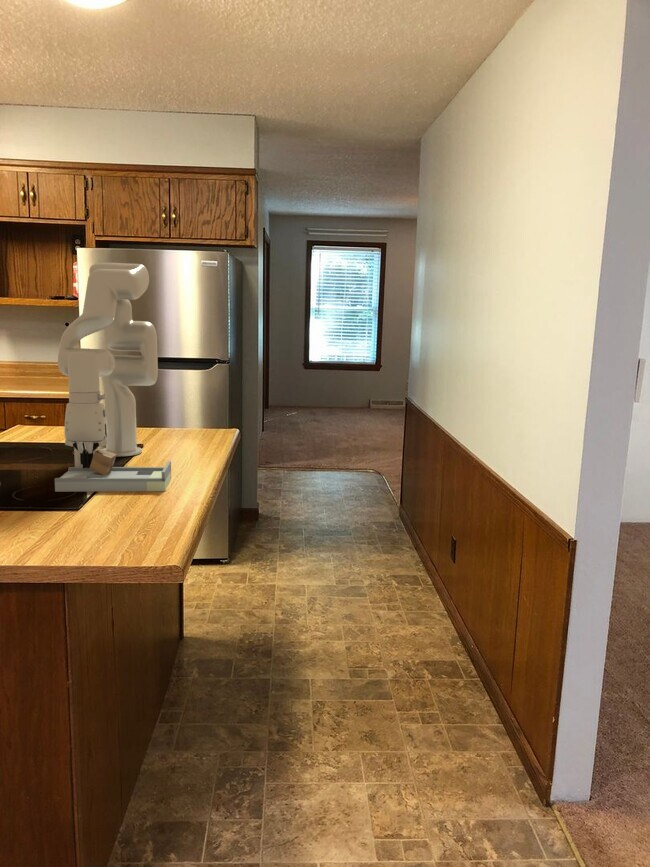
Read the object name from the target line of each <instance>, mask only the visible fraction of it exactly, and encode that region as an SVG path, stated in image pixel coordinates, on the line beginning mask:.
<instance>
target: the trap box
mask: <svg viewBox="0 0 650 867" xmlns="http://www.w3.org/2000/svg"><path fill="white" fill-rule="evenodd" d="M67 470H68V471H66V472H65V473H63V475H61V476H60V477H55V478H54V492H57V493H58V492H59V493H60V492H67V493H68V492H166V490H167V488H168V486H169V484H170V482H171V481H172V461H171V460H167V462H166V464H165V465H164V466H113V467H112V470H111V472H110V473H108V474H107V475H103V474H100V473H97V472H95V471H92V470H89V468H83V467H75V466H70V467H68V469H67Z"/></svg>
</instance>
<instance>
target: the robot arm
mask: <svg viewBox="0 0 650 867" xmlns="http://www.w3.org/2000/svg"><path fill="white" fill-rule="evenodd" d="M86 282H87V284H86V287H85V288H86V289H85V297H84V302H83V309H82V313H81V315H80V316H78V317H76V319H75V320H74V321H72V322H71V323H70V324H69V325H68V326H67V327H66V329H65V330H64V331H63V333H62V336H61V338H60V342H59V346H58V347H59V348H58V353H57V354H58V355H57V366H58V370H59V372H60V373H61V374H62V375H64V376H67V377H68V396H69V397H68V402H67V404H66V408H65V413H64V414H65V415H64V437H65V438H64V439H65V440H64V445H65V446H68V447H73V449H74V448H75V449H77V450H78V452H79V453H80V461H81V464H83V468H90V465H91V462H92V459H93V451H95V450H96V449H97V448H99V447H103V446H105V448H102V449H103V450H106V451H109V452H111V453H114V454H117V455H116V457H118V458H119V457H132V456H137V455H140V454H141V453H142V451H143V449H142V448H141V447H139V446H138V443H137V440H138V439H137V438H138V437H137V404H136V402H137V401H136V397H135V395H134V393H132V390H130V388H129V387H130V386H132V387H133V386H134V387H135V386H138V387H139V386H140V387H144V386H145V387H147V386H149V387H150V386H153V385H155V384H156V383H157V381H158V376H159V371H158V370H159V366H158V365H159V363H158V362H159V361H158V360H159V359H158V335H157V330H156V328H155V325H154V324H153V323H151V322H149V321H143V320H142V321H141V320H133V312H132V311H133V310H132V309H133V307H132V304H131V301H133V300H138V299H139V298H141V297H142V296H143V294H144V293H145V292H146V291H147V290H148V288H149V283H150V275H149V270H148V268H147V267H146V266H145V265H143V264H141V263H124V262H97V263H94V264H92V265H91V266H90V267H89V275H88V277H87V281H86ZM130 300H131V301H130ZM100 331H103V332H104V333H103V334H104V336H103V337H104V343H105V346H106V348H107V349H104V348H82V347H81V348H79V347H78V348H76V345H77V344H78V343H79V341H80V340H82V339H84V338H86V337H87V336H90V335H92V334H95V333H97V332H100ZM109 350H111V351H116V352H139V353H141V355H126V354H123V355H121V354H119V355H118V354H116V355H113V354H112V352H110V351H109ZM100 378H101V380H102V386H103V393H104V394H103V393H101V388H100ZM103 400H104V403H103V402H101V401H103ZM85 442H89V444H88V451H86V447H85Z"/></svg>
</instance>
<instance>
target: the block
mask: <svg viewBox="0 0 650 867" xmlns="http://www.w3.org/2000/svg"><path fill="white" fill-rule="evenodd" d="M103 449H104V448H99V449H98V450H97V451H96V452H95V453H94V456H93V459H92V462H91V465H90V468H89V470H92V471H95V472H97V473H100V474H103V475H107V474H108V473H110V472H111V470H112V467H114V464H115V461H116V458H117V456H116V455H117V454H114V453H111V452H109V451H106V450H103Z"/></svg>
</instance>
